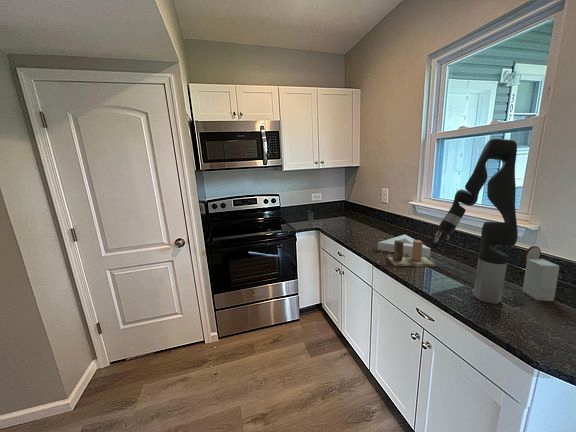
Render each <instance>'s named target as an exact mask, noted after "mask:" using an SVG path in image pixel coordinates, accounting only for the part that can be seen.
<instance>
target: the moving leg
mask: <svg viewBox="0 0 576 432" xmlns="http://www.w3.org/2000/svg"><path fill="white" fill-rule="evenodd" d="M423 243H424V242H423V241H421V240H420V239H414V240H413V250H412V255H411V256H412V259H413V260H421V255H422V244H423ZM423 245H424V244H423Z"/></svg>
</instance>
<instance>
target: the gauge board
mask: <svg viewBox="0 0 576 432" xmlns="http://www.w3.org/2000/svg"><path fill="white" fill-rule="evenodd" d="M393 255H394V254H387V256H386V259H387V258H388V259H389V260H390V261H391V262H392V263H393V264H394V265H395V266H414V267H415V268H417V267H421V268H422V267H423V268H424V267H426V268H427V267H429V268H430V267H434V268H435V267H436V263H434V261H432V260H430V258H429V257H425V255H421V260H413V259H412V256H411V255H406V254H403V257H402V261H396V260H395V259H394V257H393ZM388 259H387V260H388ZM389 260H388V261H389ZM390 261H389V262H390ZM391 262H390V263H391ZM392 263H391V264H392ZM414 267H413V268H414Z"/></svg>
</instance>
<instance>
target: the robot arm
mask: <svg viewBox="0 0 576 432" xmlns="http://www.w3.org/2000/svg"><path fill="white" fill-rule="evenodd" d="M517 152H518V145H517V142H516V141H515V140H513V139H508V138H493V137H492V138H490V139H489V140H488V141H487V142H486V143H485V144H484V147H483V149H482V150H481V153H480V156H479V158H478V160H477V163H476V165H475V168H474V170H473V172H472V174H471V176H470V177H469V178H468V180H467V182H466V184H465V185H464V189H462V188H461V189H459V190H457V191H456V192H455V194H454V198H453V202H452V205H451V206H450V209H449V210H448V211H447V213H446V215H445V216H444V217H443V219H442V220H441V222H440V223H439V226H438V230H437V232H433V233H432V242H433V243H432V245H431V247H430V250H433V251H436V250H437V249H438V247H439V246H441V245H444V244H445V243H447V242H448V241H450V240H451V239H452V238H451V237H450V235H451V234H454V232H455V230H456V228H457V227H458V225H459V223H460V222H461V220H462V219H463V217H464V215H465V213H466V208H464V207H463V206H461V204H463V205H465V206H469V207H471V206H474V205H475V204H476V203H477V201H478V200H479V199H478V198H479V194H480V191H481V190H482V188H483V186H484V185H485V183H486V182H487V191H486V195H487V199H488V200H489V202H490V203H491V204H492V205H493V206H494V207H495V208H496V209H497V211H498V212H499V213H500V214H501V217H502V218H503V222H501V221H485V222H484V223H483V224H482V228H481V235H480V236H481V238H480V246H479V252H478V253H479V255H478V259H477V260H478V261H477V268H476V272H475V273H476V274H475V281H474V286H473V287H474V288H473V296H474V298H476V299H477V300H478V301H480V302H485V303H488V304H489V303H490V304H493V305H499V303H501V300H502V295H503V290H504V283H505V277H506V272H507V267H508V261H509V256H508V254H506V253H504V252H502V251H499V250H498V249H496V248H494V247H492V246H491V245H497V246H504V247H513V246H515V245H516V244H517V242H518V238H519V237H518V235H519V233H518V223H517V214H516V192H517V191H516V190H517V189H516V162H517V155H518V154H517ZM489 160H494V161H495V160H496V161H501V163H502V164H501V167H500V168H499V170H497V171H496V172H495V173H494V174H493V175H492V176H491V177H490V179H488V171H487V162H488V161H489ZM460 203H461V204H460Z"/></svg>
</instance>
